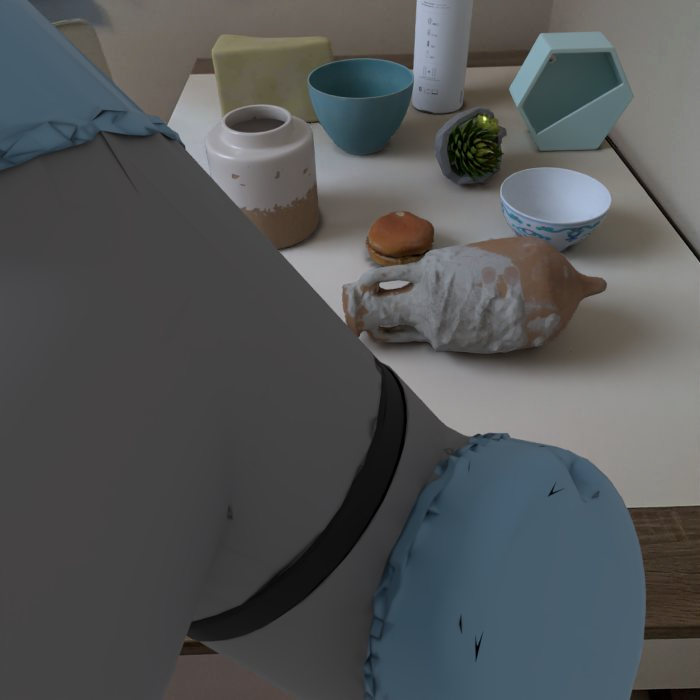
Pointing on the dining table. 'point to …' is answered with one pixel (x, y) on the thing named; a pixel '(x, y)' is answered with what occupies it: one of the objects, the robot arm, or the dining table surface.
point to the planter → (571, 90)
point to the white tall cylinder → (441, 54)
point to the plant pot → (361, 101)
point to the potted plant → (470, 146)
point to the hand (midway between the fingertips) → (62, 467)
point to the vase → (267, 170)
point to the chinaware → (554, 204)
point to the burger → (399, 239)
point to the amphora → (472, 297)
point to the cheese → (268, 71)
